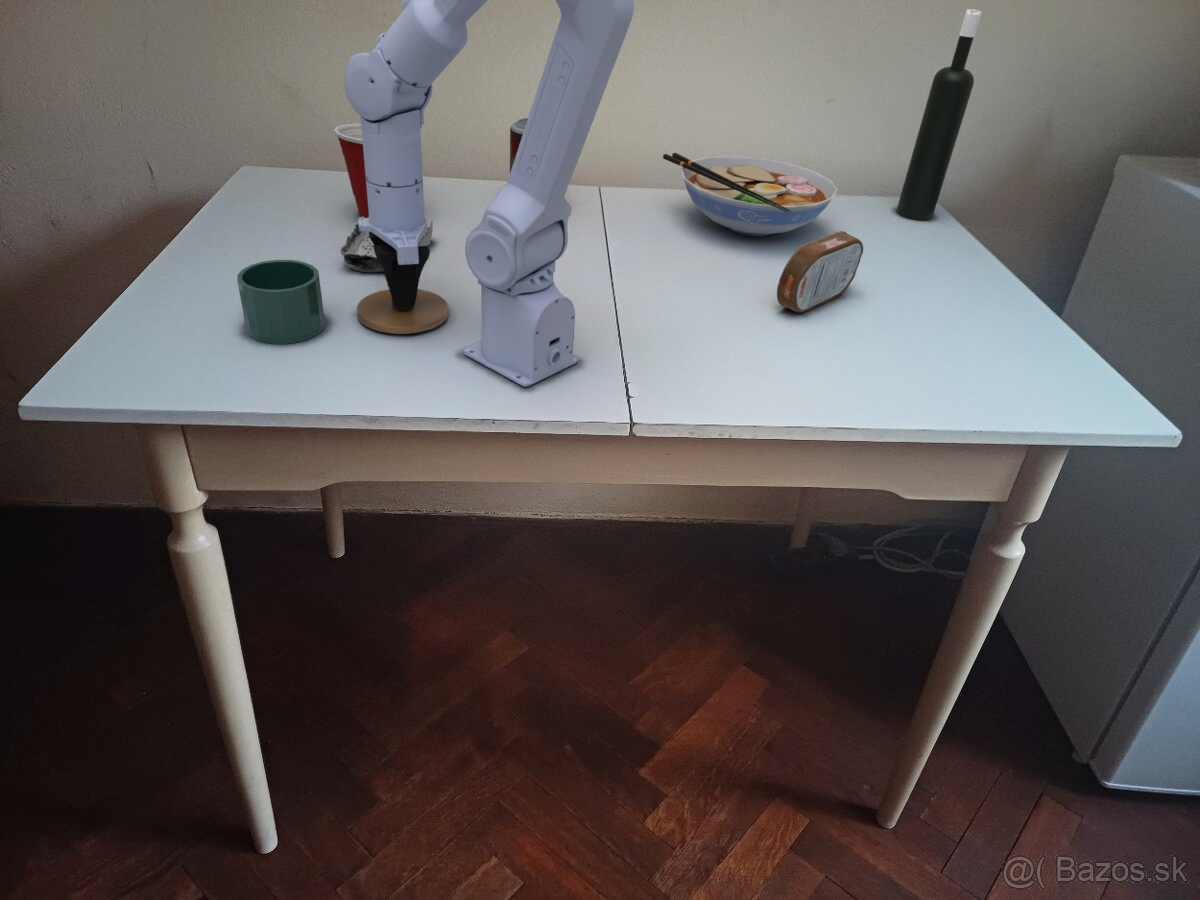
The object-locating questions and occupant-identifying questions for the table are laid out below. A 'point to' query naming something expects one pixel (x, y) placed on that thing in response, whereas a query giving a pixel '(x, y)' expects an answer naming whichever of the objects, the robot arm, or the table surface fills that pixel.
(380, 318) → the knobbed round lid
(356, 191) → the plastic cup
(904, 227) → the table surface
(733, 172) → the ramen bowl
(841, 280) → the tin
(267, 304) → the cup
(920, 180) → the wine bottle
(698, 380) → the table surface
